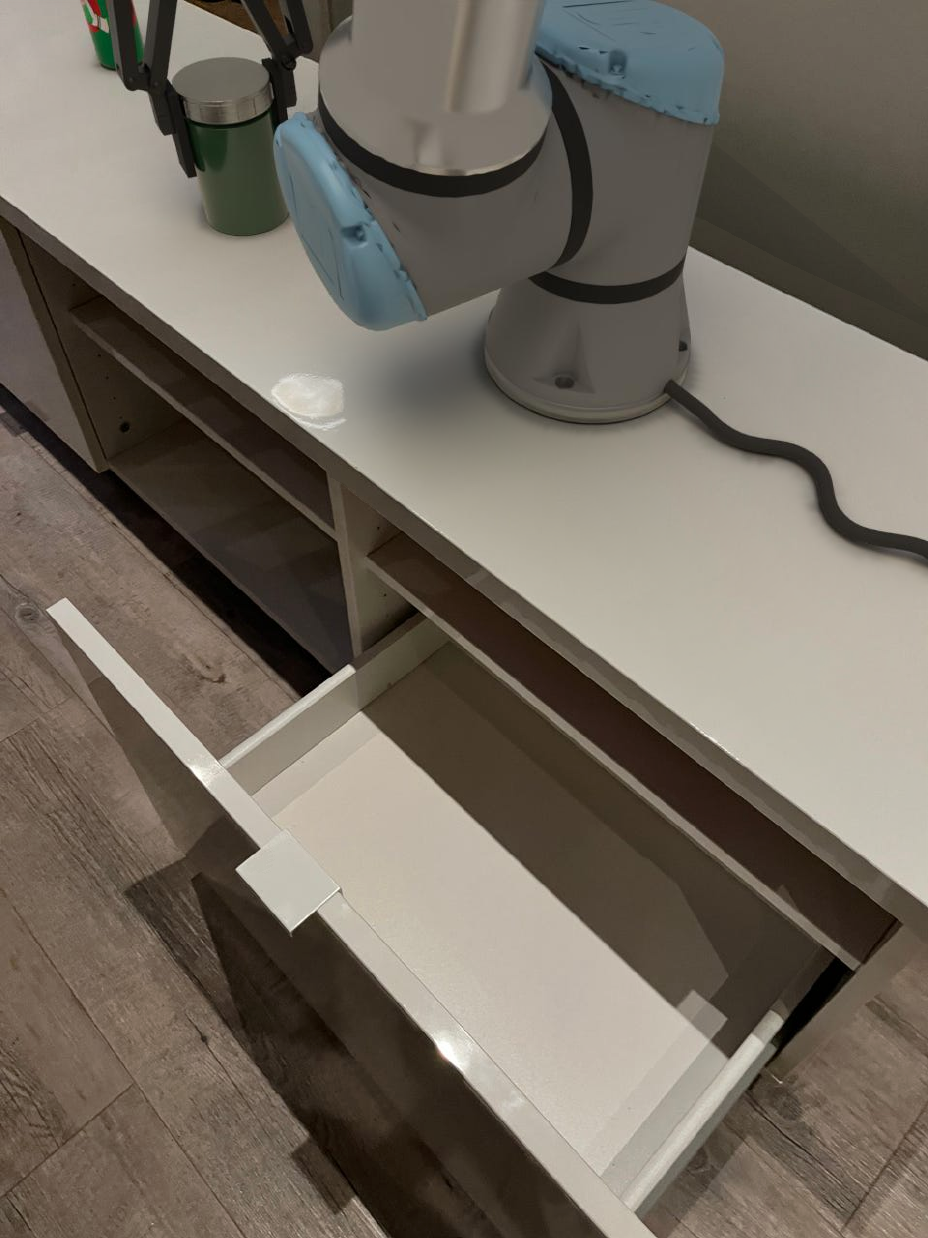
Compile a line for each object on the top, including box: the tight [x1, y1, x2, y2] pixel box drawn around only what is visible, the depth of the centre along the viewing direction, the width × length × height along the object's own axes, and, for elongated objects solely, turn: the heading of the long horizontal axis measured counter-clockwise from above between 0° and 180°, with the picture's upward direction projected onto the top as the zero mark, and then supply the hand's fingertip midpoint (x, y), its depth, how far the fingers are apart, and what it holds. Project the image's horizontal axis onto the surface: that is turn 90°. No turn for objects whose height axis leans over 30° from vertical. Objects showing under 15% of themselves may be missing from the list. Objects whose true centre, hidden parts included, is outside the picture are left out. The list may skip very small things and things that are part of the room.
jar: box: [183, 103, 289, 237], centre depth 77 cm, size 7×7×10 cm
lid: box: [171, 56, 274, 124], centre depth 73 cm, size 8×8×2 cm
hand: (236, 157), depth 77 cm, fingers open, 8 cm apart
